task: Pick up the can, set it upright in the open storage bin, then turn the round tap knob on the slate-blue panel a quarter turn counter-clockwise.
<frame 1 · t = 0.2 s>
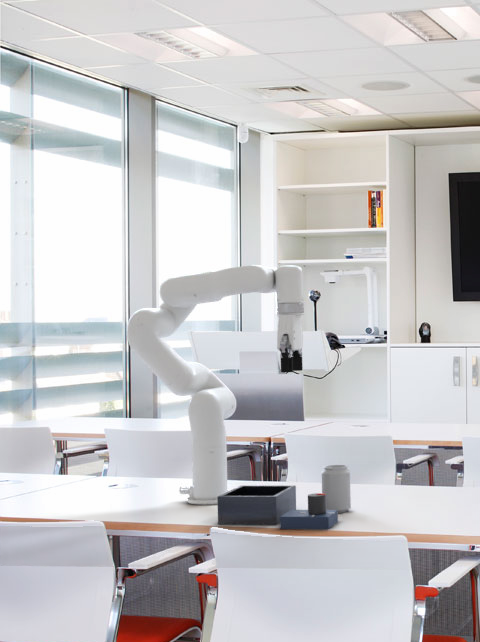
hand: (291, 371, 277), 36 cm above the table, tool pointing down, fingers open, 9 cm apart
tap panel: (309, 525, 244), on the table
can: (336, 511, 262), on the table
tap knob: (317, 503, 243), point 5 cm above the table, hinge at 0.0°
open storage bin: (258, 518, 254), on the table
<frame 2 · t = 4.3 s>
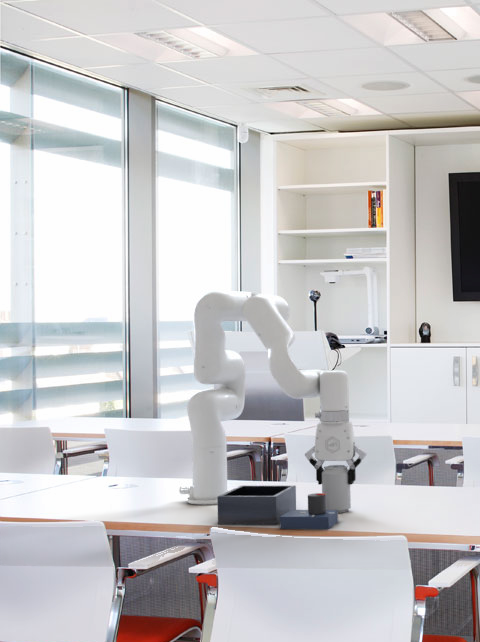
hand: (336, 483, 262), 7 cm above the table, tool pointing down, fingers closed on can, 7 cm apart
can: (336, 511, 262), on the table, touching gripper
everything else where it was.
when the fingers open (4 cm above the table, at t = 18.4 s): can stays where it is, resting on open storage bin.
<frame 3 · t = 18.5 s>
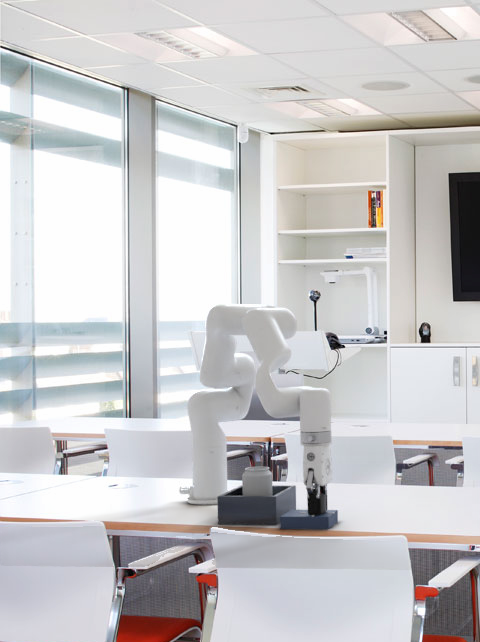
hand: (317, 511, 243), 3 cm above the table, tool pointing down, fingers open, 4 cm apart
can: (258, 514, 254), point 1 cm above the table, touching open storage bin
tap knob: (317, 503, 243), point 5 cm above the table, hinge at 87.2°
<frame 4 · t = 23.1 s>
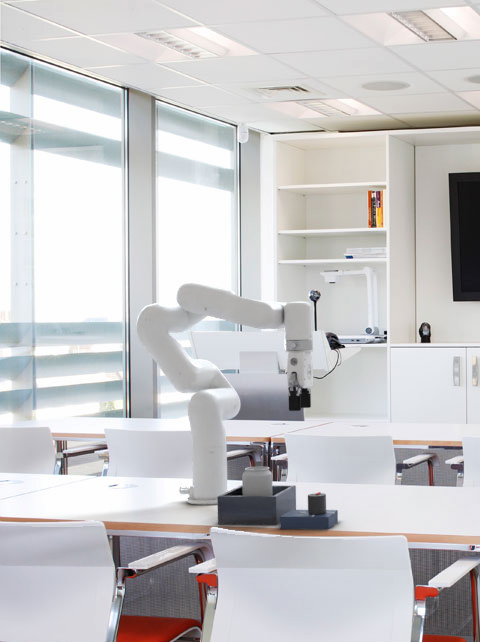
hand: (300, 409, 272), 26 cm above the table, tool pointing down, fingers open, 9 cm apart
nothing on the table moved.
at the end: can inside the target area in the open storage bin (0.0 cm from its centre), point 0.8 cm above the open storage bin's base; can tilted 0°; tap knob at +87° (first picture: +0°) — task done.
